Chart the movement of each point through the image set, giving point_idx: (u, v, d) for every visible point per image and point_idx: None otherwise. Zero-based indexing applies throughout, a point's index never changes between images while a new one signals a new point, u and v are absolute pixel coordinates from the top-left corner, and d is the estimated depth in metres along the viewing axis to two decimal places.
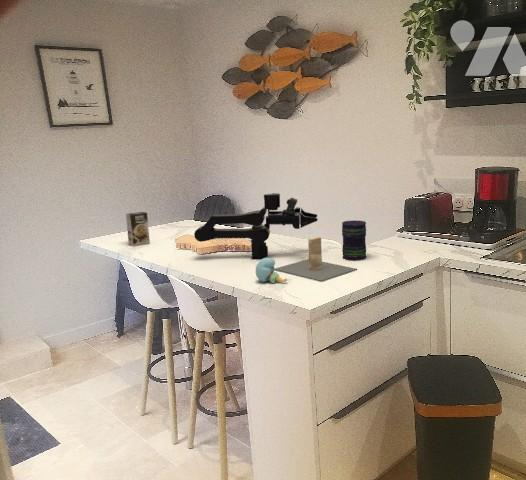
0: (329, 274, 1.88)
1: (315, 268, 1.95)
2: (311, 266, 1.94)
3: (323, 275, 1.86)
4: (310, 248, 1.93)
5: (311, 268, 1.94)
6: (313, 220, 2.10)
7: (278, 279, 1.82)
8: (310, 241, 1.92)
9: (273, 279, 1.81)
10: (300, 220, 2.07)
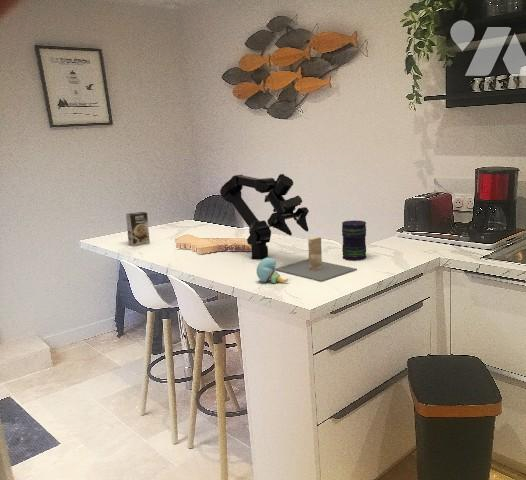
0: (329, 274, 1.88)
1: (315, 268, 1.95)
2: (311, 266, 1.94)
3: (323, 275, 1.86)
4: (310, 248, 1.93)
5: (311, 268, 1.94)
6: (287, 232, 1.97)
7: (279, 279, 1.81)
8: (310, 241, 1.92)
9: (274, 279, 1.81)
10: (275, 222, 1.97)
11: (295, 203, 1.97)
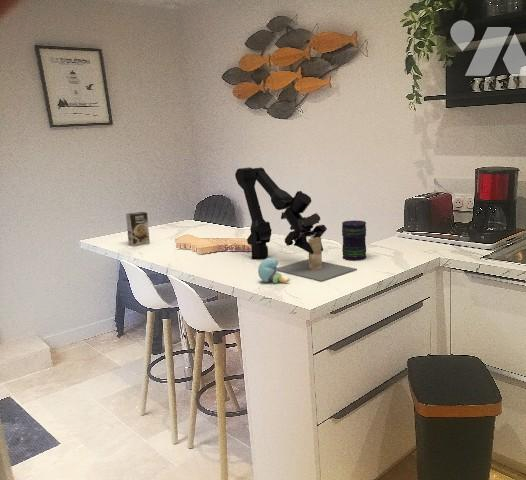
0: (329, 274, 1.88)
1: (315, 268, 1.95)
2: (311, 266, 1.94)
3: (323, 275, 1.86)
4: None
5: (311, 268, 1.94)
6: (309, 250, 1.92)
7: (281, 279, 1.81)
8: (310, 241, 1.92)
9: (276, 279, 1.81)
10: (297, 240, 1.92)
11: (313, 221, 1.91)
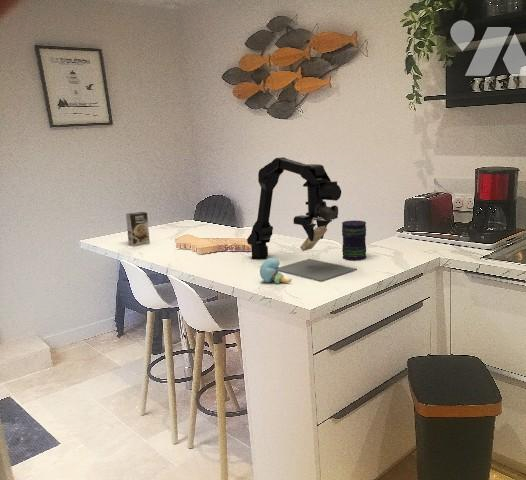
0: (329, 274, 1.88)
1: (306, 249, 1.97)
2: (303, 247, 1.95)
3: (323, 275, 1.86)
4: None
5: (302, 248, 1.96)
6: (309, 237, 1.91)
7: (282, 279, 1.81)
8: (315, 231, 1.89)
9: (277, 279, 1.80)
10: (305, 224, 1.87)
11: (330, 218, 1.85)
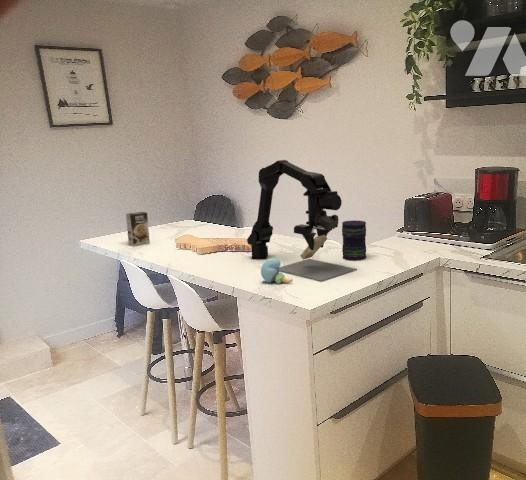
0: (329, 274, 1.88)
1: (306, 258, 1.97)
2: (303, 255, 1.96)
3: (323, 275, 1.86)
4: None
5: (302, 257, 1.97)
6: (310, 245, 1.92)
7: (284, 280, 1.81)
8: (315, 240, 1.90)
9: (278, 280, 1.80)
10: None
11: (330, 228, 1.86)
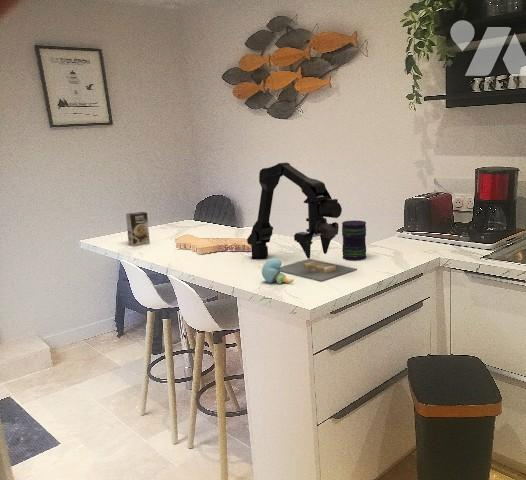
0: (329, 274, 1.88)
1: None
2: (306, 267, 1.96)
3: (323, 275, 1.86)
4: (319, 269, 1.91)
5: (304, 267, 1.97)
6: (306, 254, 1.91)
7: (285, 280, 1.80)
8: (325, 270, 1.89)
9: (279, 280, 1.80)
10: (302, 242, 1.88)
11: (330, 236, 1.86)
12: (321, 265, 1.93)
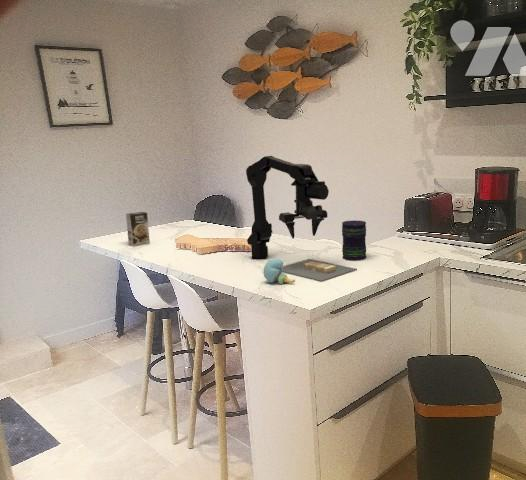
0: (329, 274, 1.88)
1: None
2: (306, 267, 1.96)
3: (323, 275, 1.86)
4: (319, 269, 1.91)
5: (304, 267, 1.97)
6: (291, 234, 1.98)
7: (286, 280, 1.80)
8: (325, 270, 1.89)
9: (281, 280, 1.80)
10: (285, 222, 1.96)
11: (311, 218, 1.91)
12: (321, 265, 1.93)
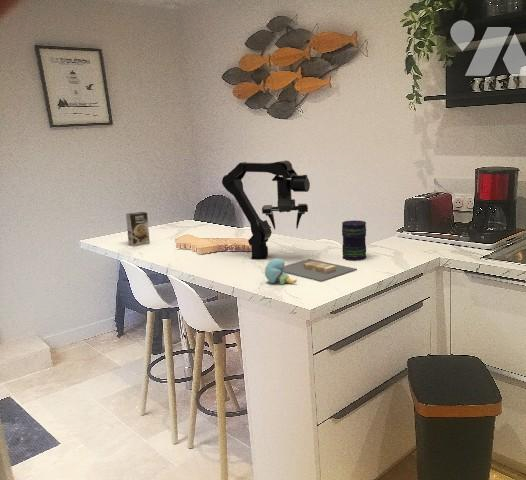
0: (329, 274, 1.88)
1: None
2: (306, 267, 1.96)
3: (323, 275, 1.86)
4: (319, 269, 1.91)
5: (304, 267, 1.97)
6: (273, 225, 2.12)
7: (288, 280, 1.80)
8: (325, 270, 1.89)
9: (283, 280, 1.79)
10: None
11: (282, 210, 2.03)
12: (321, 265, 1.93)
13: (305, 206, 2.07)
